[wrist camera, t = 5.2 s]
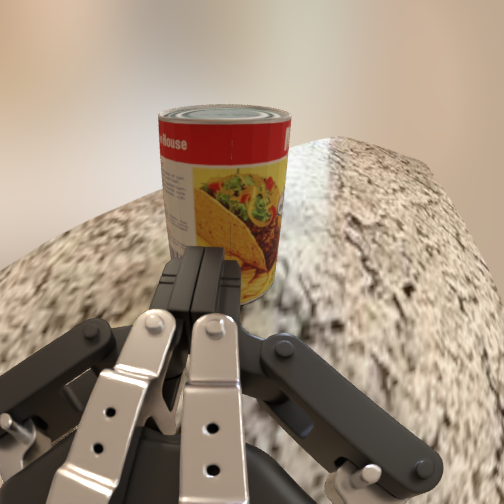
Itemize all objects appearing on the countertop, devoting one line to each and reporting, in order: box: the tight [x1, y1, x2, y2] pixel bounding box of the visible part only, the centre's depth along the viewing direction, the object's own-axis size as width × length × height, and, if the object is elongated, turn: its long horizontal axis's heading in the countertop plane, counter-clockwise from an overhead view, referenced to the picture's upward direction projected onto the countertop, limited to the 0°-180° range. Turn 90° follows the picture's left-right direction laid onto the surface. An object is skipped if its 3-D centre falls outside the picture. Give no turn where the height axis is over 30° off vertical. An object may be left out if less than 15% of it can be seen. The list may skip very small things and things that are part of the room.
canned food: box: [158, 104, 291, 305], centre depth 19 cm, size 8×8×12 cm
